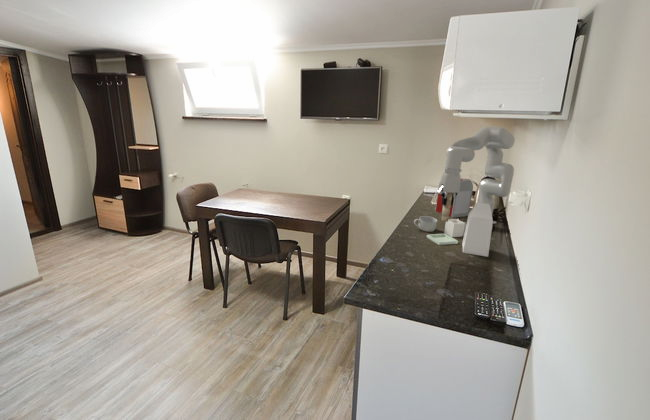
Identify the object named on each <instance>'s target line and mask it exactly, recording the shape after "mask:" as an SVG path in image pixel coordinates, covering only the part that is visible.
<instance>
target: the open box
mask: <svg viewBox="0 0 650 420" xmlns="http://www.w3.org/2000/svg"><path fill="white" fill-rule="evenodd" d="M444 225H445V226H444V232H443V234H447V235H448V236H450V237H452V238H459V237H464V234H465V229H466V222H464V221H462V220H460V219H457V218H455V219H453V218H452V219H448V222H445V224H444Z"/></svg>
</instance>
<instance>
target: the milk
mask: <svg viewBox="0 0 650 420" xmlns="http://www.w3.org/2000/svg"><path fill="white" fill-rule="evenodd" d="M493 221H494V220H493V213H491V208H490V204H485V203H478V202H476V203H475V204H474V206H472V208H471V210H469V215H468V216H467V219H466V224H465V229H464V234H463V239H462V243H461V244H462V249H461V250H462V253H464V254H468V255H469V254H470V255H475V256H482V257H488V258H489V253H490V245H491V239H492V238H491V237H492V232H493V231H492V230H493V228H492V227H493V225H494V224H493Z"/></svg>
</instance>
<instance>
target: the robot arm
mask: <svg viewBox="0 0 650 420" xmlns="http://www.w3.org/2000/svg"><path fill="white" fill-rule="evenodd" d="M514 136H515V135H513V133H511V131H509V130H508V129H507V128H505V127H502V126H485V127H481V129H480V130H478V131H477V132H476V133H475V134H473V135H472V136H470V137H466V138H462V139H460V140H457V141H455V142H454V143H452V144H451V145H450V146H449V147H448V148H447V150H446V152H445V154H446V162H445V167H444V168H445V169H444V173H442V175H441V178H440V180H441V181H439V183H440V186H439V185H438V188H439V191H438V190H437V194H438V193H439V194H440V195H441V197H442V205H445V206H446V203H447V198H446V197H447V194H448V193H453V194H452V200H451V205H453V202H454V198H455V197H456V196H457V194H459V193H460V177H461V174H460V173H461V172H462V171H463V170H462V169H461V168H462V162H464V163H470V162H472V161H473V160H474V159H475V157H476V156H475V154H476V153H475V151H480V150H482V149H483V148H484V147H485V149H486V151H487V156H486V162H485V163H486V164H485V167H484V174H485V176H487V177H489V178H483V179H482V180H480V182H479V185H478V199H477V203H485V204H490V208H491V213H492V214H493V212H494V208H495V203H496V202H495V196H496V197H500V198H505V197H508V196H509V193H510V192H511V187H512V183H513V177H514V172H515V167H514V166H513V165H512V164H510V163H505V162H503V159H504V158H503V157H504V152H503V149H504V150H509V149H511V148H513V146H514V144H515V143H516V142H515V137H514ZM492 178H495V179H492ZM498 179H500V180H498ZM442 191H443V193H442ZM444 194H445V195H444ZM496 224H497V221H495V220H493V224H492V225H496ZM493 228H494V227H493V226H492V229H493Z"/></svg>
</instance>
